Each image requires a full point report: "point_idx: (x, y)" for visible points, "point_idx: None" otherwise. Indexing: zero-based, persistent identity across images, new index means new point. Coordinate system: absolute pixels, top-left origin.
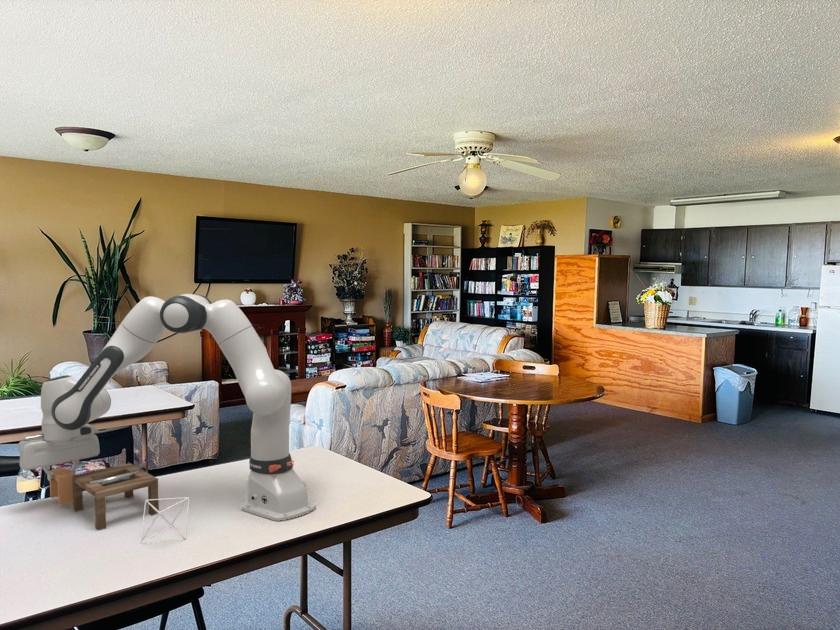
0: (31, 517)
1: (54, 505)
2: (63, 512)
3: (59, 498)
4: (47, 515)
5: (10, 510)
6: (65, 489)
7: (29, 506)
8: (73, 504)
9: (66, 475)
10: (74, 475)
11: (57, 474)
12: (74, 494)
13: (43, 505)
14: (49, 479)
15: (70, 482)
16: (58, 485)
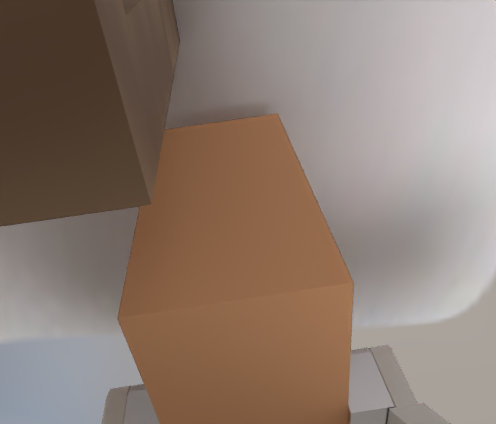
0: (465, 66)
1: None
2: (257, 22)
3: (287, 136)
4: (371, 33)
5: (486, 263)
6: (238, 181)
7: (394, 271)
8: (175, 38)
9: (231, 316)
10: (106, 184)
11: (321, 397)
12: (157, 12)
13: None
14: (392, 352)
15: (181, 231)
16: (320, 219)
